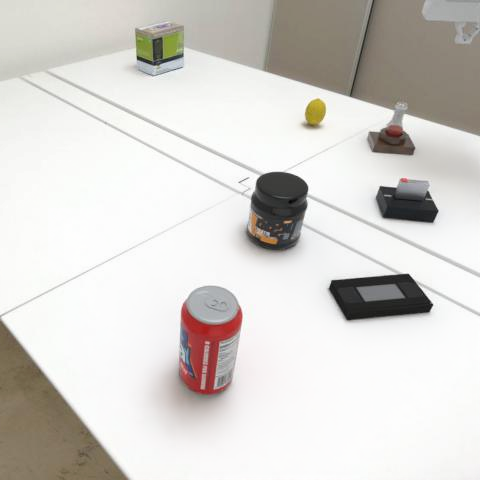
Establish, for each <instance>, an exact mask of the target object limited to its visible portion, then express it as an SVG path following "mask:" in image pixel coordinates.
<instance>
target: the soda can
mask: <svg viewBox="0 0 480 480" xmlns="http://www.w3.org/2000/svg"><path fill="white" fill-rule="evenodd" d="M243 316H244V315H243V310H242V307H241V306H240V304H239V300H238V298H237V297H236V295H235V294H234V293H233V292H231V291H230V290H229V289H227V288H225V287H222V286H219V285H203V286H199V287H197V288H195V289H193V290H192V291H191V292H190V293H189V294H188V297H186V299H185V300H184V301H183V304H182V306H181V309H180V321H179V323H180V325H179V347H178V349H179V350H178V374H179V377H180V380H181V382H182V383H183V385H185V387H186V388H188V389H189V390H190V391H192V392H194V393H197V394H200V395H208V396H209V395H210V396H211V395H216V394H219V393H221V392H223V391H225V390H226V389H227V388H228V387H229V386H230V385H231V382H232V380H233V378H234V372H235V367H236V361H237V356H238V355H237V354H238V348H239V344H240V343H239V342H240V336H241V330H242V325H243Z"/></svg>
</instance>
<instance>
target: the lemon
mask: <svg viewBox="0 0 480 480" xmlns="http://www.w3.org/2000/svg"><path fill="white" fill-rule="evenodd" d="M326 113H327V106H326V103H325V102H324V101H323V100H322V99H320V98H319V97H317V98H315V99H312V100H310V101H309V102H308V104H307V105H306V108H305V111H304V118H305V121H306V122H307V123H309V125H311V126H313V127H314V126H315V125H318V124H320V123H321V122H323V121H324V118H325V116H326Z"/></svg>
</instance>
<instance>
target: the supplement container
mask: <svg viewBox="0 0 480 480" xmlns="http://www.w3.org/2000/svg"><path fill="white" fill-rule="evenodd" d="M308 193H309V185H308V183H307V182H306V181H305V180H304V179H303V178H302V177H300V176H299V175H297V174H294V173H290V172H286V171H269V172H266V173H263V174H261V175H259V177H257V179H256V181H255V187H254V191H253V192H252V193H251V195H250V208H249V213H248V221H247V224H246V233H247V235H248V237H249V238H250V240H252V242H254V243H255V244H257V245H258V246H261V247H263V248H266V249H270V250H285V249H288V248H291V247H293V246H295V244H297V242H298V241H299V240H300V238H301V233H302V232H301V231H302V227H303V223H304V219H305V215H306V211H307V209H308V206H309V204H308V203H309V202H308V199H307V197H308Z"/></svg>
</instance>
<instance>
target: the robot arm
mask: <svg viewBox="0 0 480 480" xmlns="http://www.w3.org/2000/svg"><path fill="white" fill-rule="evenodd" d="M421 15H422V18H424V20H426V21H431V22H432V21H434V22H435V21H437V22H454V28H455V35H456V36H454V37H455V38H454V43H455V44H456V45H458V44H460V45H471V44H472V42H473V39H474V37H475V36H477V35H478V33H480V0H425V1H424V4H423V6H422V9H421ZM467 23H472V26H473V27H472V29H471V30H470V31H468V33H463V28H465V27H466V25H467Z"/></svg>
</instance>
